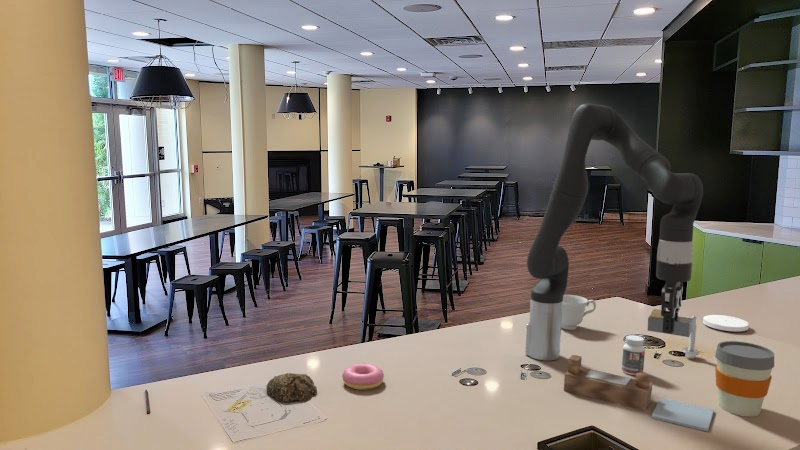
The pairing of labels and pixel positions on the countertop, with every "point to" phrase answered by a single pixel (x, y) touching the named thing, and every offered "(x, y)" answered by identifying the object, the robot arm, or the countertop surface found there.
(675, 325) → the lever cap
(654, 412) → the rubber mat
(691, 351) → the screw
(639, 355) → the pill bottle
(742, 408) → the reusable coffee cup
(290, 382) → the mossy brown rock
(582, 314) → the teacup
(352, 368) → the doughnut
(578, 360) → the plane body
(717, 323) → the plastic lid
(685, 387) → the countertop surface
